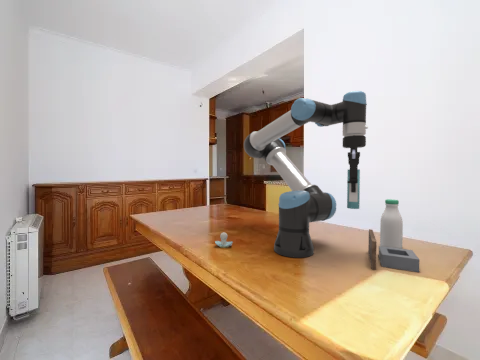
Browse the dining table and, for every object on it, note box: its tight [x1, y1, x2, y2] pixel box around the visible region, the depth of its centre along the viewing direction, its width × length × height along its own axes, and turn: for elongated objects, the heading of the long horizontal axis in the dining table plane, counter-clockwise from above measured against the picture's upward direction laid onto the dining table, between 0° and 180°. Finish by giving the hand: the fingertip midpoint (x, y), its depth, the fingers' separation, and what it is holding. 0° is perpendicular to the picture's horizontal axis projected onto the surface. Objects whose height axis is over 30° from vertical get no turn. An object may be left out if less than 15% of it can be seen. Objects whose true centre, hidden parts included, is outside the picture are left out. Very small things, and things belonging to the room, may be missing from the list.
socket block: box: [378, 245, 420, 273], centre depth 78 cm, size 10×10×4 cm
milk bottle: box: [379, 198, 404, 249], centre depth 95 cm, size 8×8×20 cm
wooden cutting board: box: [367, 229, 378, 271], centre depth 82 cm, size 1×18×9 cm, turn 154°
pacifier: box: [214, 231, 234, 249], centre depth 97 cm, size 7×6×6 cm
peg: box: [346, 168, 361, 210], centre depth 84 cm, size 4×4×14 cm
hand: (353, 200), depth 84 cm, fingers closed on peg, 4 cm apart
